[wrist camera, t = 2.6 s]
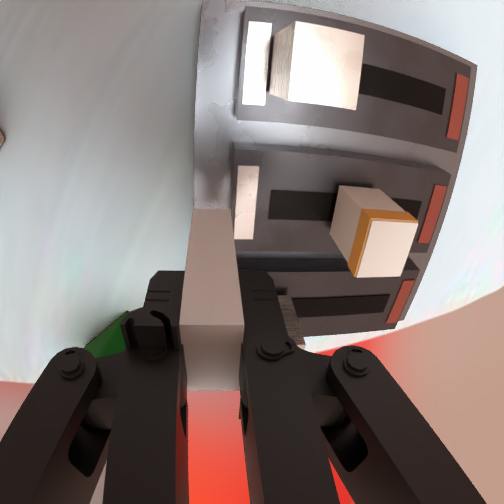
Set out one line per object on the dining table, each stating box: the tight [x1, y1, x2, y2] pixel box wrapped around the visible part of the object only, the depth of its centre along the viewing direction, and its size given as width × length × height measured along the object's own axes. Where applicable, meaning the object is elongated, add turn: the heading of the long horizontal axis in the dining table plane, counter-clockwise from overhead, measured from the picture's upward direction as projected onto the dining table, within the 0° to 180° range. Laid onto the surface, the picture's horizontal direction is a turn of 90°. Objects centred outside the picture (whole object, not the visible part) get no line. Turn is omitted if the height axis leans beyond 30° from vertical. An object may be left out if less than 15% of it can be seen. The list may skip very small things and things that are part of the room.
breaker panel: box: [194, 0, 477, 350], centre depth 16 cm, size 21×17×8 cm
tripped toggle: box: [330, 185, 418, 278], centre depth 15 cm, size 3×2×4 cm
